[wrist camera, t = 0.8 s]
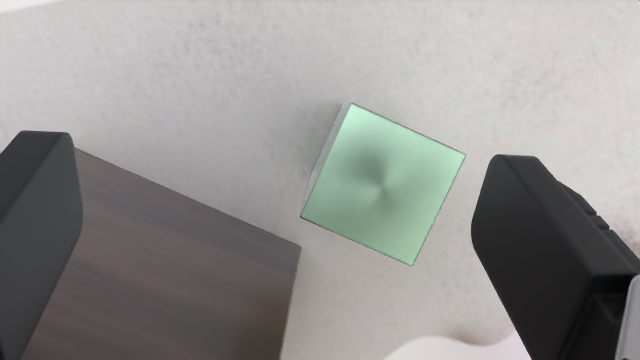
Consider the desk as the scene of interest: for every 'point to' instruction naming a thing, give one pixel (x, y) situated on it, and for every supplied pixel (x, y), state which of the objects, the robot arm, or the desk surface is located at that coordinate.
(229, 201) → the desk surface
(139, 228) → the stand
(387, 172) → the pen tin
